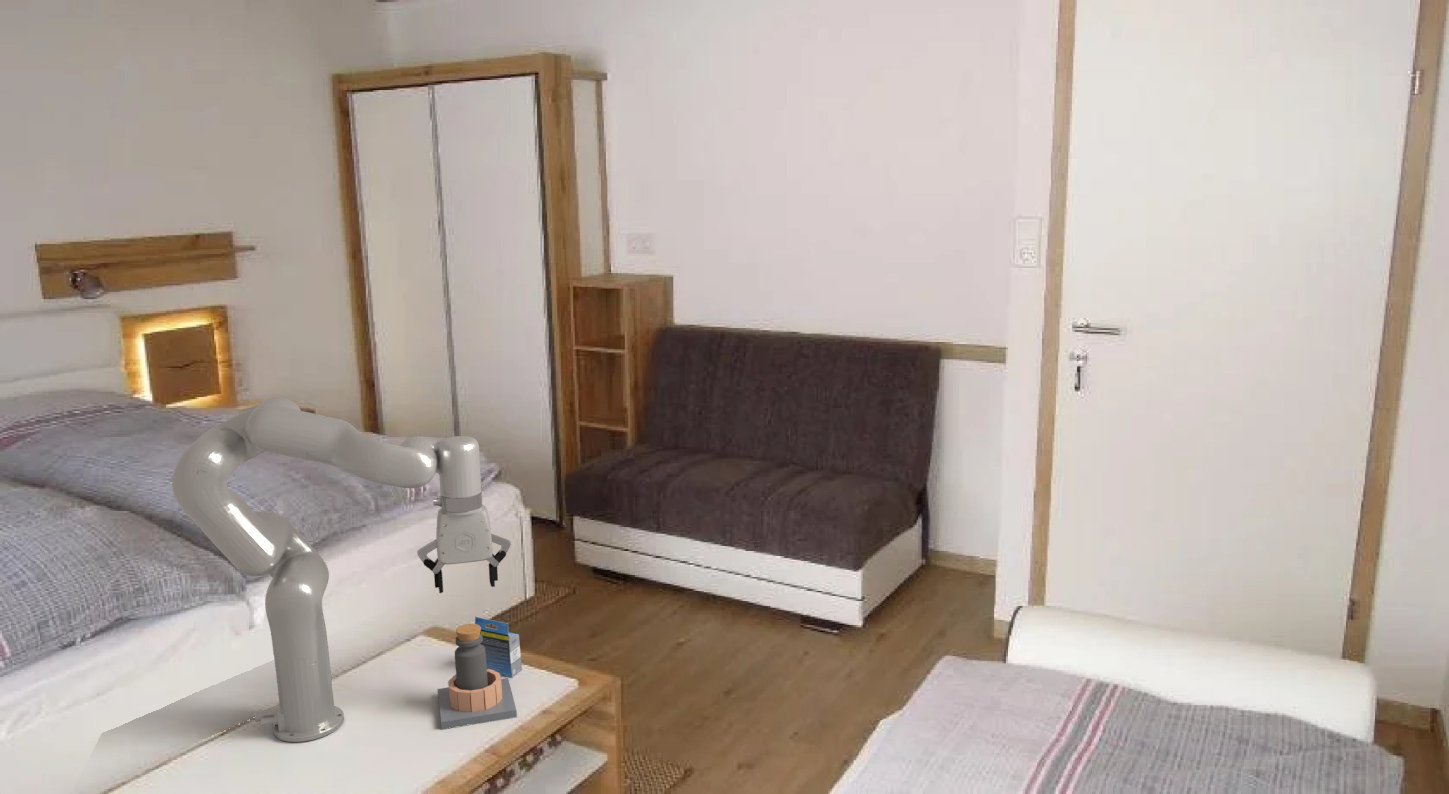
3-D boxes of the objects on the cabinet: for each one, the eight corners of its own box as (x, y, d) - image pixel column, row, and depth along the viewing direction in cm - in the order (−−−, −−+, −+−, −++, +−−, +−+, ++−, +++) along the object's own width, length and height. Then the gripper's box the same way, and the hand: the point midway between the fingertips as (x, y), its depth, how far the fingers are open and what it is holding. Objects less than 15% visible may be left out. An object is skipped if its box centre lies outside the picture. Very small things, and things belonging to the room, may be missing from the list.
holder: (441, 729, 198) (439, 702, 197) (438, 695, 211) (436, 670, 210) (516, 717, 202) (515, 690, 201) (508, 684, 215) (506, 659, 214)
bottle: (492, 693, 209) (487, 622, 206) (482, 707, 203) (477, 635, 200) (464, 692, 209) (459, 621, 206) (453, 706, 204) (448, 634, 200)
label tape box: (522, 670, 221) (519, 616, 219) (511, 679, 218) (507, 623, 215) (488, 663, 225) (485, 609, 223) (476, 671, 222) (473, 617, 219)
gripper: (414, 512, 192) (420, 600, 195) (510, 503, 197) (514, 589, 201) (413, 501, 199) (419, 586, 202) (505, 492, 204) (510, 575, 208)
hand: (466, 587), depth 202 cm, fingers open, 9 cm apart
